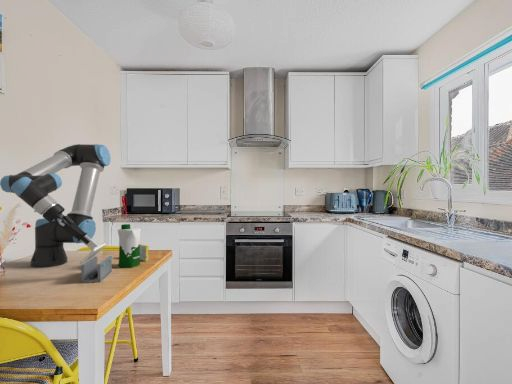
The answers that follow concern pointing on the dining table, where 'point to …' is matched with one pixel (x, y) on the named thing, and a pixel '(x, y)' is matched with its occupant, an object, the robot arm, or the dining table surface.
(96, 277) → the stand
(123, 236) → the milk carton
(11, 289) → the dining table surface
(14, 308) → the dining table surface
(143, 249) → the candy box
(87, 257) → the cover
